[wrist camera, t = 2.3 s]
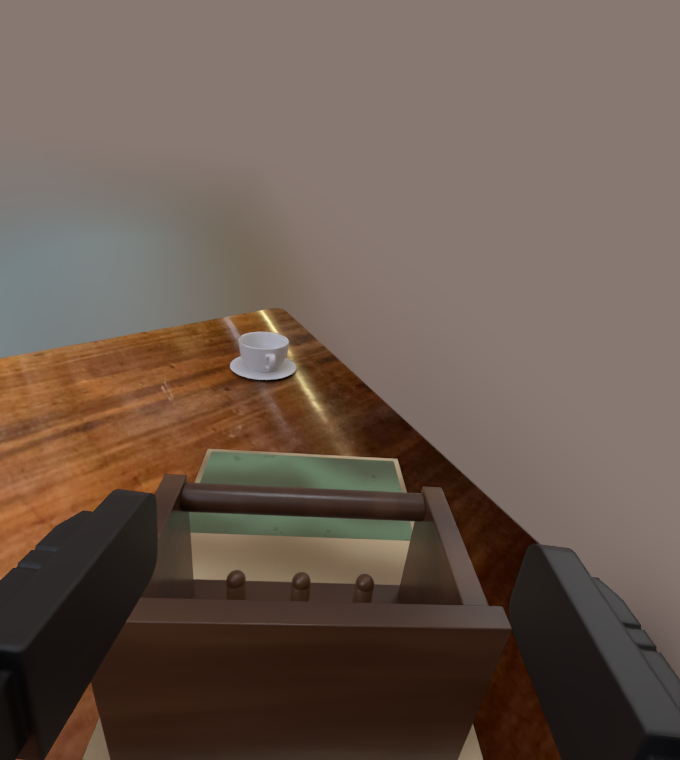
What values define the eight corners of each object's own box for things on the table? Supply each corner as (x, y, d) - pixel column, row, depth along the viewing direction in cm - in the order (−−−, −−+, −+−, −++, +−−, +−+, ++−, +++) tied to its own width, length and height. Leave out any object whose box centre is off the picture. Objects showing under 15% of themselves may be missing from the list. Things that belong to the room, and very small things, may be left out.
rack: (449, 779, 21) (512, 629, 16) (115, 784, 20) (74, 620, 15) (410, 599, 30) (442, 468, 25) (179, 593, 29) (166, 453, 24)
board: (493, 814, 21) (497, 806, 20) (62, 823, 19) (59, 814, 19) (396, 464, 46) (397, 458, 46) (208, 454, 44) (207, 448, 44)
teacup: (224, 358, 67) (224, 330, 65) (285, 354, 71) (286, 327, 69) (237, 385, 59) (237, 354, 57) (305, 379, 63) (307, 350, 61)
